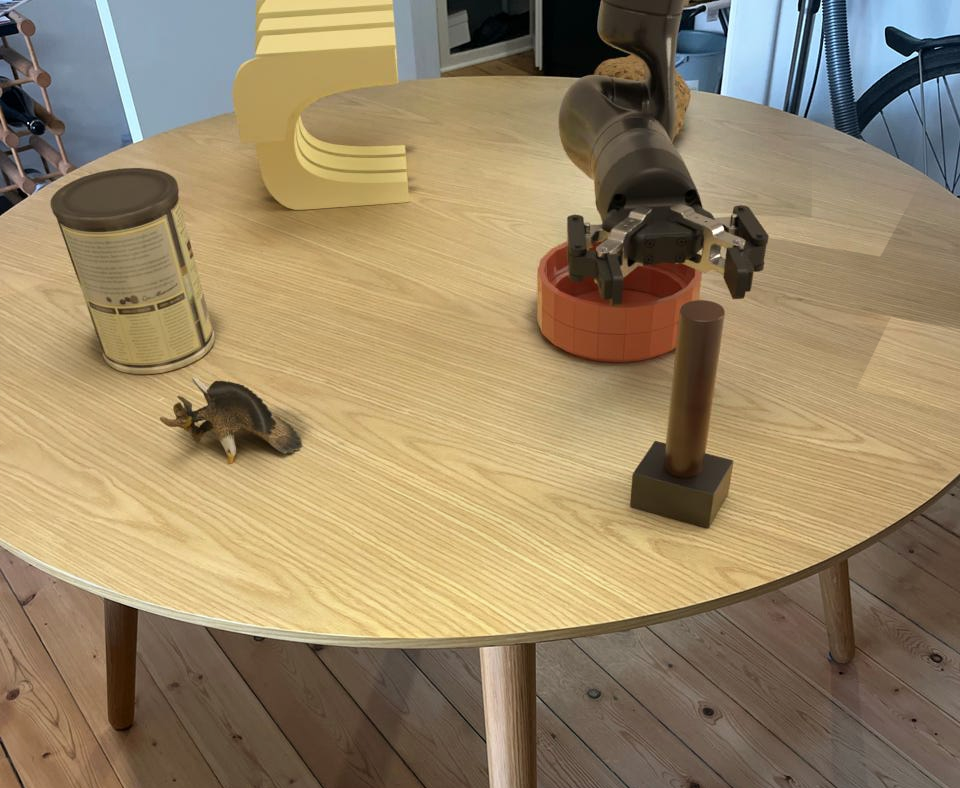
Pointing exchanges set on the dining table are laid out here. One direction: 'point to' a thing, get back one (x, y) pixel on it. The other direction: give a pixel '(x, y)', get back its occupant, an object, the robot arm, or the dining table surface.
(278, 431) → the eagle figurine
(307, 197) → the slatted curved stool
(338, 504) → the dining table surface
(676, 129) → the sponge
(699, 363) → the hammer
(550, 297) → the bowl
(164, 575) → the dining table surface
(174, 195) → the coffee can
